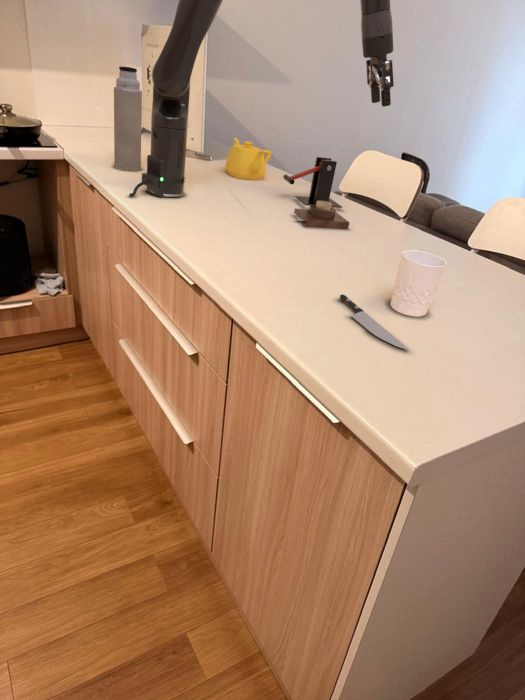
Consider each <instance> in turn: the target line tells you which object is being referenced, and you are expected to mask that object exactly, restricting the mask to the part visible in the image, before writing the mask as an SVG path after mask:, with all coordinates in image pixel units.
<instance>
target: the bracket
mask: <svg viewBox="0 0 525 700" xmlns="http://www.w3.org/2000/svg"><path fill="white" fill-rule="evenodd" d="M327 159H328V160H327ZM329 160H330V161H329ZM319 162H321V166H320V170H319V171H316V172H314V173H312V174H313V175H312V179H311V185H310V190H309V195H308V196H301V195H295V196H294V198H295V199H297V200H298V201H299V202H300V203H302V204H303V205H304V206H308V207H310V206H311V204H316V203H317V201H327V202H330V203H331V204H332V205H331V207H333V208H339V209H340V208H341V209H343V206H342V205H340V204H339V203H338V202H337V201H335V200H334V199H333V198H330V197H331V193H332V189H333V183H334V177H335V173H336V170H337V168H336V167H337V163H338V162H337V161H336V160H332V158H331V157H322V156H316V158H315V162H314V163H315V164H314V167H317V166H319Z"/></svg>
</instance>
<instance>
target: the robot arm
mask: <svg viewBox="0 0 525 700" xmlns="http://www.w3.org/2000/svg"><path fill="white" fill-rule="evenodd" d="M223 1H224V0H178V2H177V6H176V11H175V15H174V19H173V23H172V25H171V28H170V32H169V34H168V37H167V39H166V40H165V43H164V45H163V48H162V50H161V51H160V54H159V56H158V58H157V60H156V61H155V63H154V65H153V66H152V70H151V81H152V106H151V117H150V119H151V122H150V123H151V125H150V133H151V134H150V154H147V155H146V172H143V173H141V182H139V183H138V184H137V185H136V186H134V189H133V192H131V193H128V194H129V195H128V196H129V197H131V198H132V197H135V196H136V195H137V192H138V189H140V188H141V187H142V186H145V187H146V192H148V193H149V194H152V195H154V196H157V197H159V198H179V197H183V196H184V194H185V182H186V177H185V174H186V173H185V172H186V159H187V158H186V156H187V139H188V126H189V125H188V124H189V112H190V111H189V109H190V94H191V93H190V92H191V78H192V74H193V70H194V67H195V63H196V60H197V57H198V54H199V50H200V48H201V45H202V43H203V41H204V39H205V37H206V35H207V34H208V32H209V30H210V29H211V26H212V25H213V23H214V21H215V19H216V17H217V15H218V12H219V10H220V9H221V6H222V3H223ZM359 1H360V15H361V17H360V19H361V20H360V30H361V46H362V56H363V58H364V59H367V60H366V61H365V64H366V83H367V85H368V86H369V87H368V88H370V97H371V103H372V104H376V103H380V102H381V107H390V106H391V105H392V102H391V99H392V98H391V90H392V88H393V87H394V86H395V85H394V84H395V83H394V68H393V60H392V59H389V60H388V57H387V55H389V54H392V53H393V52H394V33H393V32H394V31H393V29H394V28H393V17H392V9H391V0H359Z"/></svg>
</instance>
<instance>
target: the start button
mask: <svg viewBox="0 0 525 700" xmlns="http://www.w3.org/2000/svg"><path fill="white" fill-rule="evenodd" d="M331 205H332V204H331V203H330V202H327V201H317V203H316V208H318V209H321V210H331Z"/></svg>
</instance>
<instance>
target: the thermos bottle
mask: <svg viewBox="0 0 525 700" xmlns="http://www.w3.org/2000/svg"><path fill="white" fill-rule="evenodd" d="M118 69H119V73H118V75H119V77H117V78H116V79H115V81H116V82H115V86H114V87H113V135H114V137H113V143H114V145H113V146H114V147H113V149H114V153H113V156H114V159H113V161H114V168H115V169H117V170H121V171H124V172H125V171H126V172H137V171H140V170H141V169H142V117H143V116H142V115H143V111H142V110H143V90H141V89H140V88H141V87H140V86H141V82H140V81H139V80H138V75H137V72H138V68H135V67H131V66H119V67H118Z"/></svg>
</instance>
